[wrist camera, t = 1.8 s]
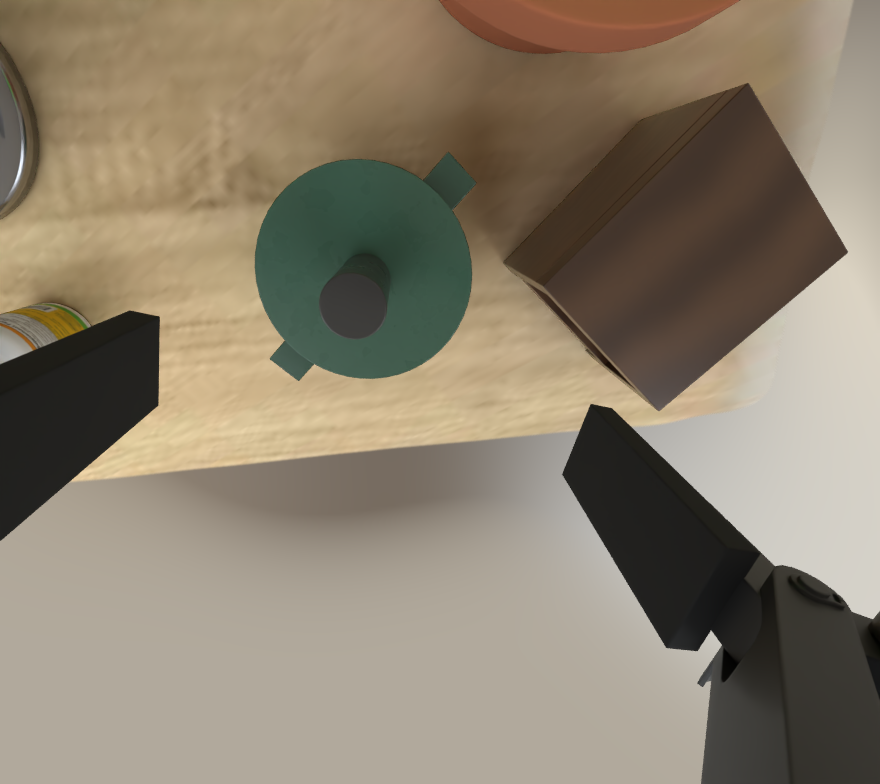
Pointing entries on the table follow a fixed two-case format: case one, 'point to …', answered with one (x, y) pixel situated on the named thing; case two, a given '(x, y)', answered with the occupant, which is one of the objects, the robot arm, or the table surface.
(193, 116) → the table surface
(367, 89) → the table surface
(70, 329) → the supplement bottle
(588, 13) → the potted cactus
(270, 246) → the lid
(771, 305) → the wooden side table
